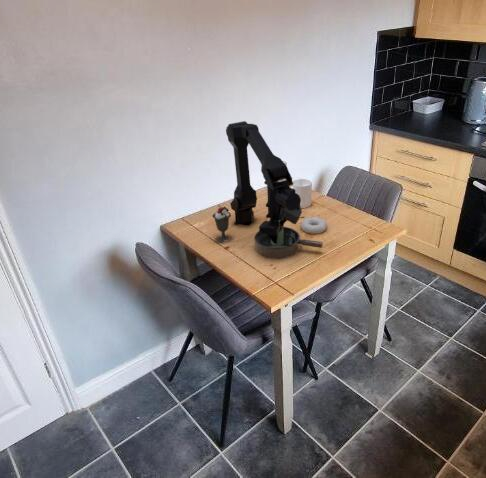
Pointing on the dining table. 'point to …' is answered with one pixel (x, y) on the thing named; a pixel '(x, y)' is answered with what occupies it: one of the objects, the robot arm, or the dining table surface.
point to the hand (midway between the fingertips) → (277, 239)
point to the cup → (303, 191)
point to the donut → (313, 225)
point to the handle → (311, 243)
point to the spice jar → (279, 237)
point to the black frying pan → (277, 251)
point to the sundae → (222, 222)
